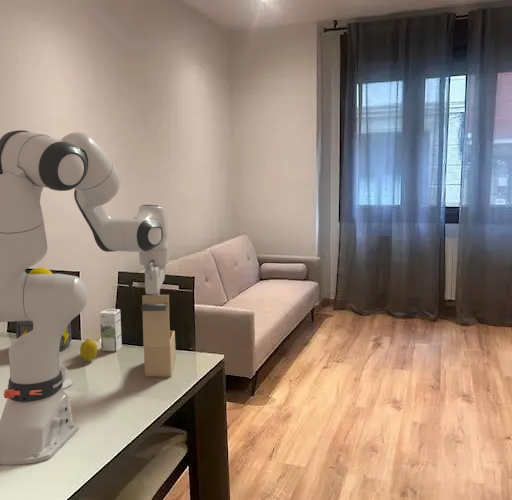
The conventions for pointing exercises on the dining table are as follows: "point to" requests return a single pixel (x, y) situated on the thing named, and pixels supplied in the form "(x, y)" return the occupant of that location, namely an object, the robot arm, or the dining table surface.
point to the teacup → (65, 381)
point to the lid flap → (156, 320)
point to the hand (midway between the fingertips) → (156, 301)
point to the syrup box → (110, 330)
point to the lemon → (88, 350)
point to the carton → (160, 359)
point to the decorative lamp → (27, 326)
